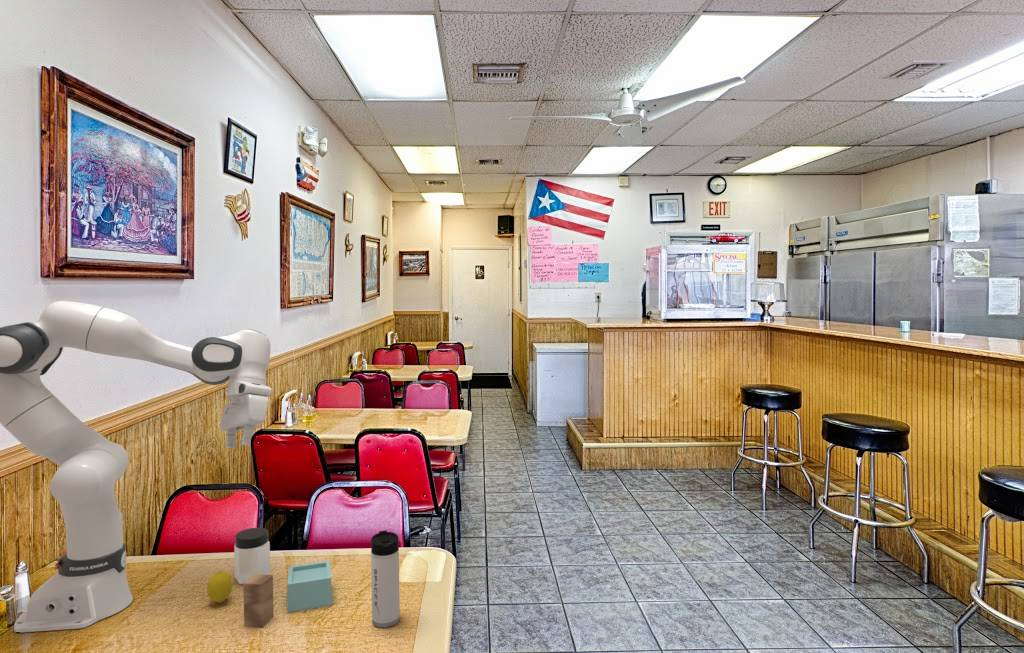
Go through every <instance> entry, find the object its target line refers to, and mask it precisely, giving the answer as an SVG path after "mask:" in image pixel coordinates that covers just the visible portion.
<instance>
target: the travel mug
mask: <svg viewBox="0 0 1024 653" xmlns="http://www.w3.org/2000/svg"><path fill="white" fill-rule="evenodd" d="M370 544H371V545H370V547H371V548H370V549H371V550H370V556H371V557H370V563H371V565H370V566H371V567H370V568H371V569H370V570H371V575H370V576H371V618H372V620H371V622H372V625H373V626H375V627H378V628H381V629H382V628H384V629H385V628H390V627H392V626H394V625H396V624H397V623H399V621H400V617H401V616H400V615H401V614H400V613H401V612H400V606H401V605H400V604H401V602H400V549H399V545H400V544H399V535H398V534H396V533H395V532H392V531H387V530H379V531H378V533H376V534H374V535H373V536H372V537H371V539H370Z"/></svg>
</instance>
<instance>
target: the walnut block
mask: <svg viewBox="0 0 1024 653" xmlns="http://www.w3.org/2000/svg"><path fill="white" fill-rule="evenodd" d="M242 586H243V588H242V589H243V592H242V593H243V624H244V625H243V626H244V627H251V628H262V629H263V628H264V627H265V626H266V625H267V624H268V623H269V622H270V621H271V620H272V619H273V618H274V617H275V616H274V614H275V613H274V575H273V574H270V575H262V574H254V575H253V576H252V577H251V578H249V579H248V580H247V581H245V582H244V583H243V584H242Z"/></svg>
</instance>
